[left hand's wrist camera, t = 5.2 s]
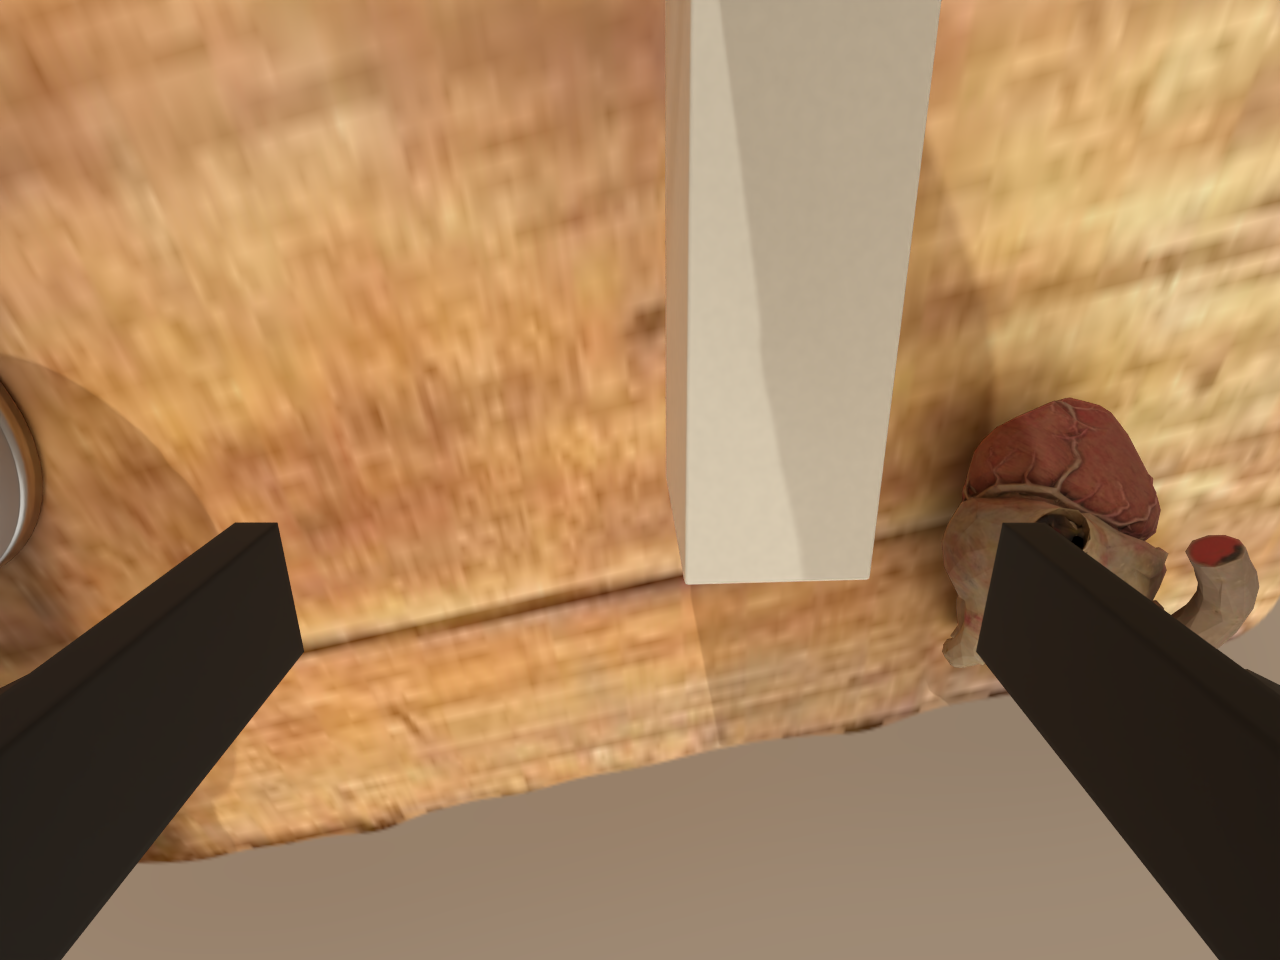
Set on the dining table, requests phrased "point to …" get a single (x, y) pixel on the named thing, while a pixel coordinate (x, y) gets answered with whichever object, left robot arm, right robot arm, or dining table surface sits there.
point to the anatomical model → (1080, 519)
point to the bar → (786, 274)
